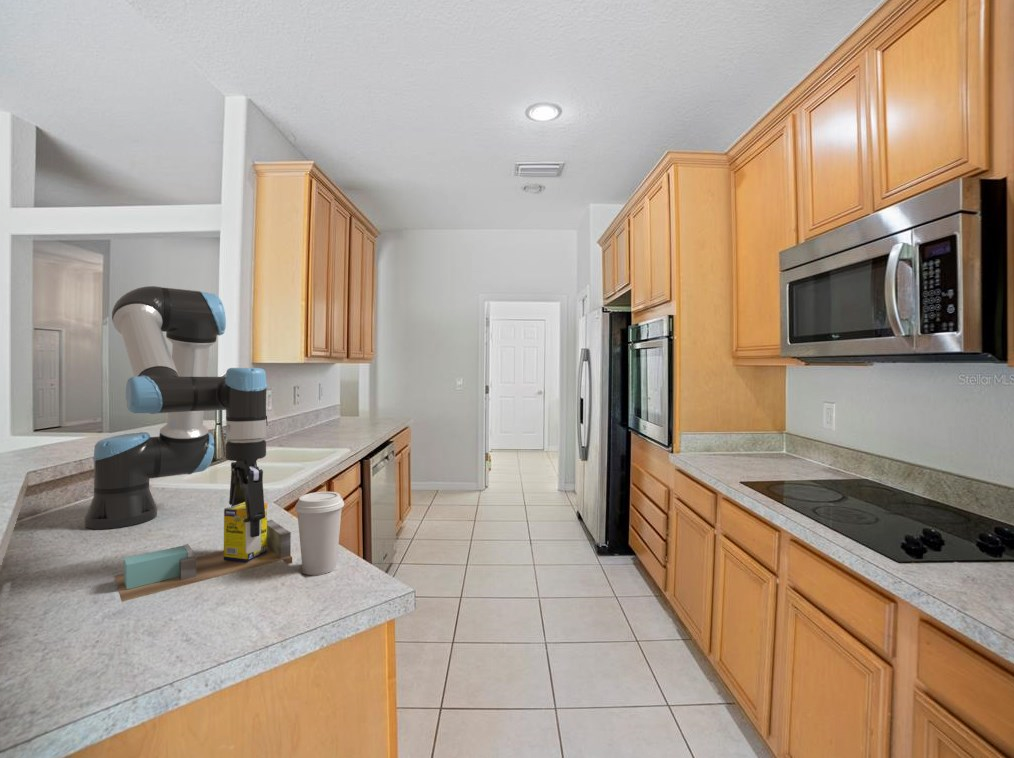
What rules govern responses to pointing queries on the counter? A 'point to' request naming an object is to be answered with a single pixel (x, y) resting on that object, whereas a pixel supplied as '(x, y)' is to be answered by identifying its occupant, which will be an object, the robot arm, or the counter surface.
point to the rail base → (215, 565)
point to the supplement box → (240, 534)
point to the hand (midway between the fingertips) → (246, 544)
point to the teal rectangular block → (154, 566)
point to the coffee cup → (319, 530)
